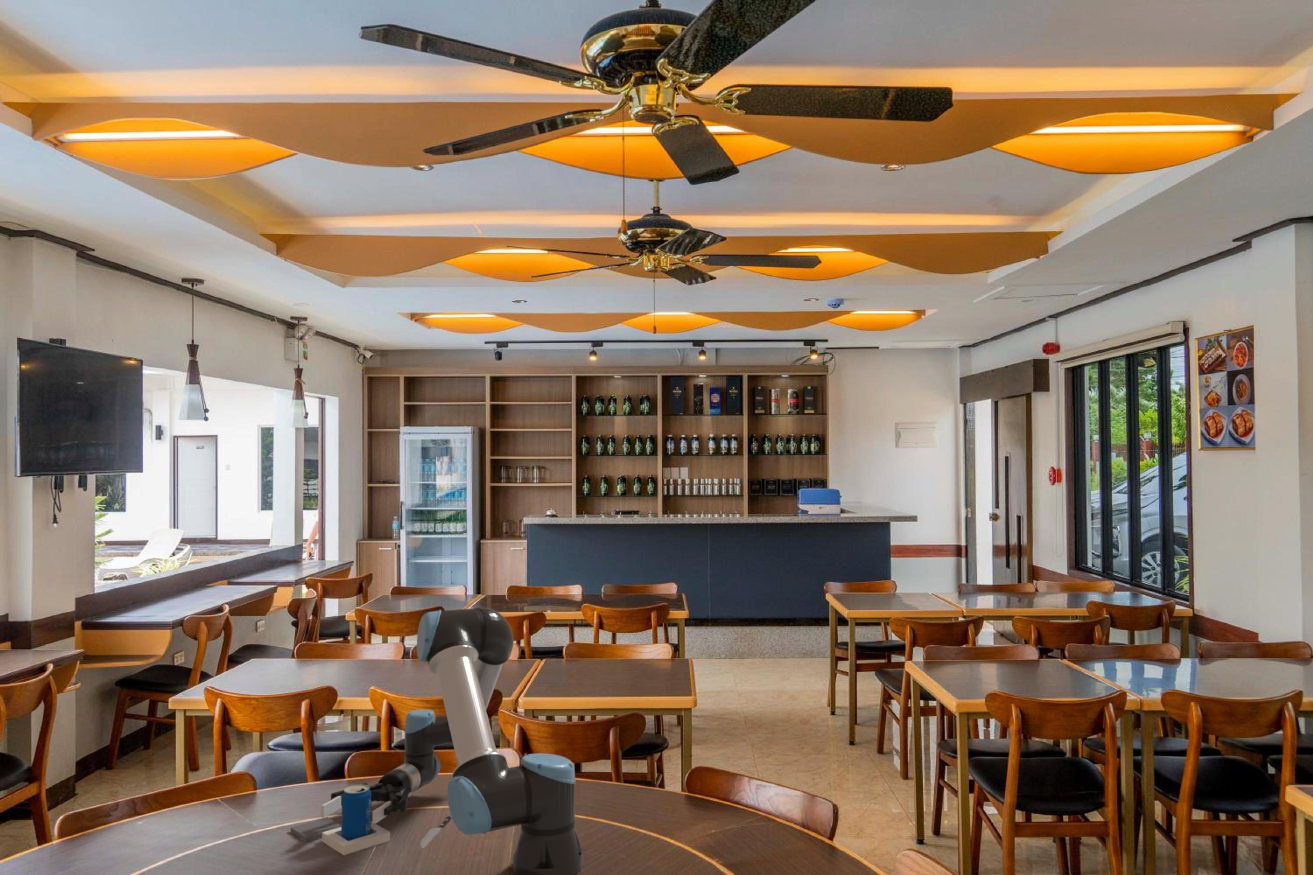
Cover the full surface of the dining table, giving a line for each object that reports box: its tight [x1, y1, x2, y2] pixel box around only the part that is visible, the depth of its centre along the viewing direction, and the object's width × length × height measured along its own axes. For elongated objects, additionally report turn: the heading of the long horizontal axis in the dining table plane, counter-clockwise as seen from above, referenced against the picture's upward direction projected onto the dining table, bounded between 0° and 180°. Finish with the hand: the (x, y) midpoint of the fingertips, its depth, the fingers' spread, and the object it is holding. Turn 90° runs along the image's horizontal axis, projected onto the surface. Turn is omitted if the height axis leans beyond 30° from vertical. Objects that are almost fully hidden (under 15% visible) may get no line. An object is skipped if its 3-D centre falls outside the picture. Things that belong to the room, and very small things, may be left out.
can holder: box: [321, 820, 391, 856], centre depth 198 cm, size 11×11×2 cm
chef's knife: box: [420, 815, 452, 849], centre depth 203 cm, size 19×1×3 cm
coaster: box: [290, 816, 342, 843], centre depth 204 cm, size 9×9×1 cm
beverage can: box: [341, 783, 372, 841], centre depth 199 cm, size 6×6×12 cm
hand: (348, 814), depth 196 cm, fingers open, 13 cm apart
